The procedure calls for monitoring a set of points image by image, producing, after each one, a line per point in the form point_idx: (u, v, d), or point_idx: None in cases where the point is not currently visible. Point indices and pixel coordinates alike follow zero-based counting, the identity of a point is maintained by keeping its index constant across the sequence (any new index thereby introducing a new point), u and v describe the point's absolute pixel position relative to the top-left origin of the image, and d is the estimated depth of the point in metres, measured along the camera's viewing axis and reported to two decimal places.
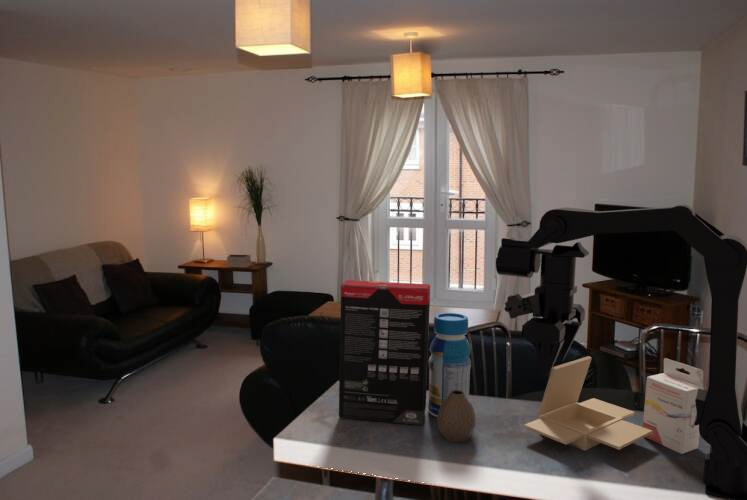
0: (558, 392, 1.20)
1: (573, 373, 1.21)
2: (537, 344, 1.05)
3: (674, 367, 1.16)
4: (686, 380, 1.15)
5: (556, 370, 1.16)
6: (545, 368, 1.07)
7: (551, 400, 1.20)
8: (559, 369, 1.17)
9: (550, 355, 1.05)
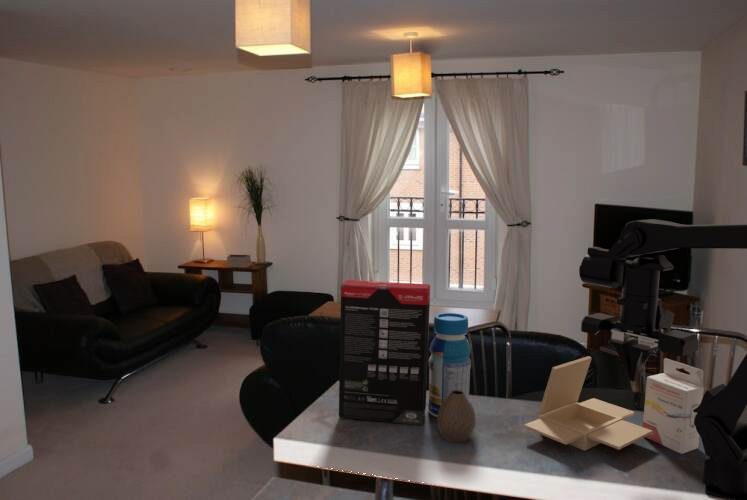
0: (558, 392, 1.20)
1: (573, 373, 1.21)
2: None
3: (674, 367, 1.16)
4: (686, 380, 1.15)
5: (556, 370, 1.16)
6: None
7: (551, 400, 1.20)
8: (559, 369, 1.17)
9: None
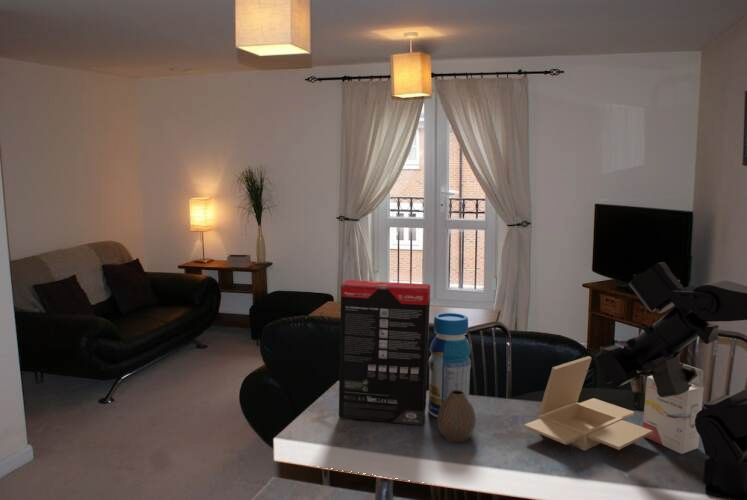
0: (558, 392, 1.20)
1: (573, 373, 1.21)
2: None
3: None
4: None
5: (556, 370, 1.16)
6: None
7: (551, 400, 1.20)
8: (559, 369, 1.17)
9: None
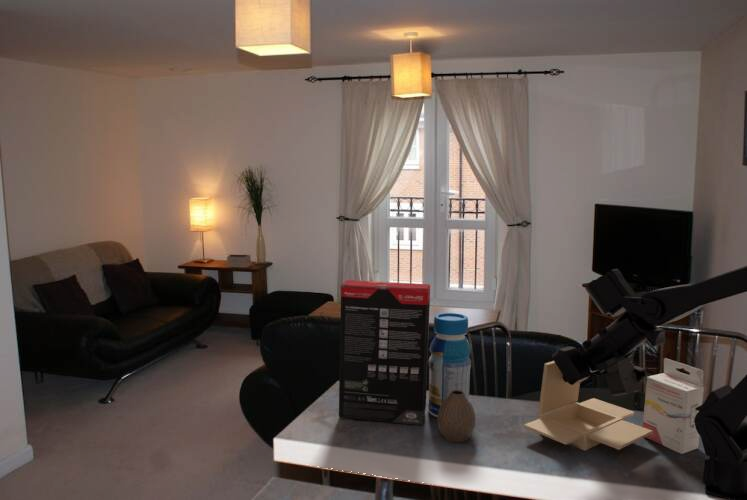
0: (555, 390, 1.21)
1: None
2: None
3: (674, 367, 1.16)
4: (686, 380, 1.15)
5: (548, 366, 1.18)
6: None
7: (548, 399, 1.20)
8: (551, 365, 1.18)
9: None
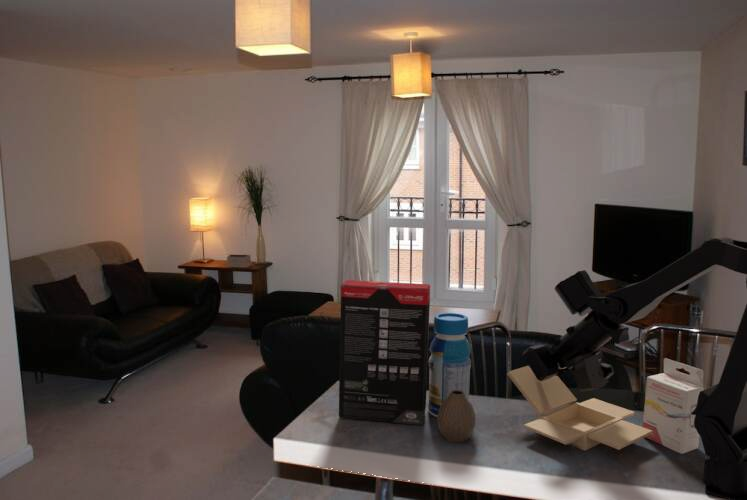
0: (538, 391, 1.24)
1: None
2: None
3: (674, 367, 1.16)
4: (686, 380, 1.15)
5: (510, 372, 1.25)
6: None
7: (537, 399, 1.22)
8: (513, 371, 1.26)
9: None
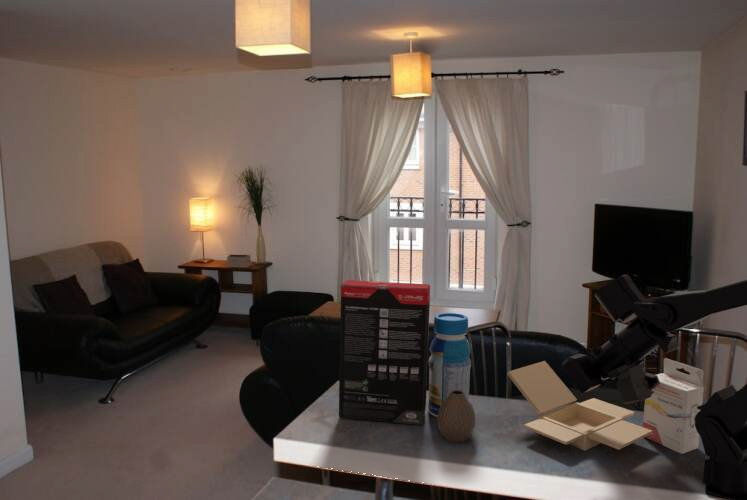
0: (538, 391, 1.24)
1: (536, 374, 1.28)
2: None
3: (674, 367, 1.16)
4: (686, 380, 1.15)
5: (510, 372, 1.25)
6: None
7: (537, 399, 1.22)
8: (513, 371, 1.26)
9: None
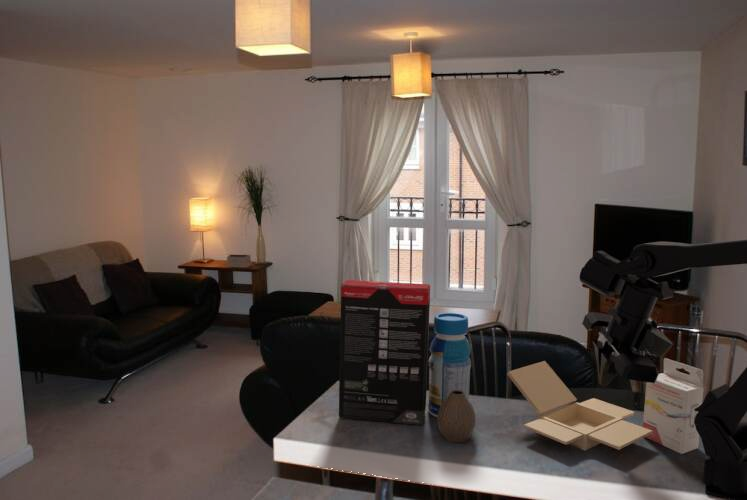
0: (538, 391, 1.24)
1: (536, 374, 1.28)
2: None
3: (674, 367, 1.16)
4: (686, 380, 1.15)
5: (510, 372, 1.25)
6: None
7: (537, 399, 1.22)
8: (513, 371, 1.26)
9: None
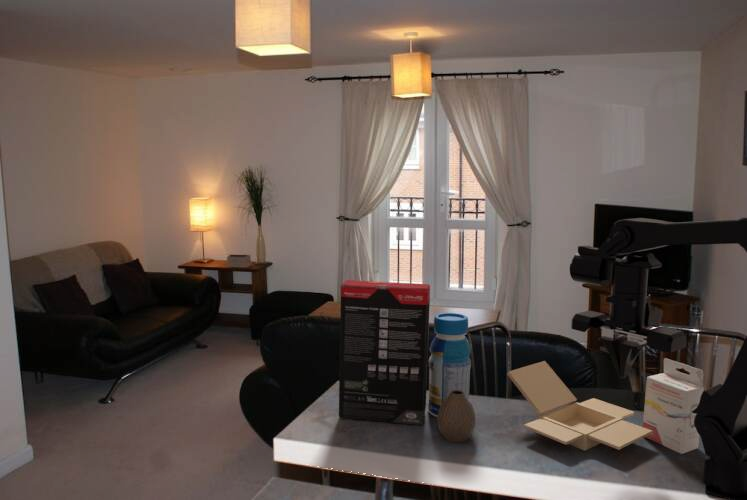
0: (538, 391, 1.24)
1: (536, 374, 1.28)
2: None
3: (674, 367, 1.16)
4: (686, 380, 1.15)
5: (510, 372, 1.25)
6: None
7: (537, 399, 1.22)
8: (513, 371, 1.26)
9: None
